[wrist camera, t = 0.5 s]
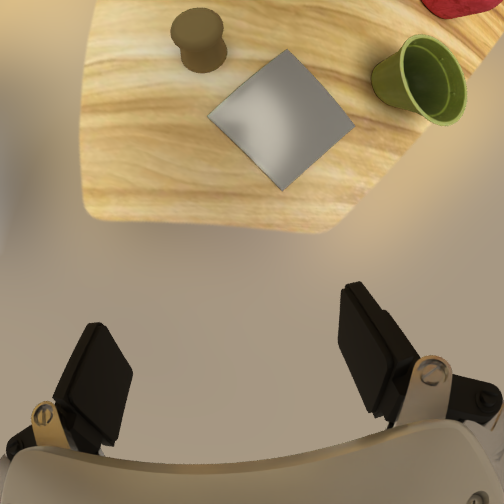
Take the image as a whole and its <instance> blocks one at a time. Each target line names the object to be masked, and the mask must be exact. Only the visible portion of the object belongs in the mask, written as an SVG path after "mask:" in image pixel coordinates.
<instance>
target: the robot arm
mask: <svg viewBox="0 0 504 504" xmlns="http://www.w3.org/2000/svg"><path fill="white" fill-rule="evenodd" d="M338 345H339V348H340V350H341V352H342V355H343V357H344V359H345V361H346V364H347V366H348V368H349V370H350V372H351V375H352V377H353V379H354V381H355V384H356V386H357V388H358V391H359V393H360V395H361V398H362V400H363V402H364V405H365V407H366V410H367V411H368V413H371V412H372V413H373V415H374V417H375V418H378V417H381V416H383V415H384V418H385V420H386V421H388V423H387V426H386V428H385V430H384V431H381V432H378V433H375V434H371V435H368V436H365V437H362V438H359V439H356V440H352V441H349V442H345V443H342V444H338V445H334V446H330V447H326V448H322V449H318V450H314V451H310V452H305V453H301V454H295V455H290V456H285V457H278V458H272V459H265V460H257V461H248V462H237V463H223V464H165V463H150V462H139V461H130V460H122V459H115V458H110V457H105V455H104V453H103V452H102V450H101V448H100V447H101V444H103V445H106V446H112V447H114V443H115V441H116V440H117V439H118V435H119V431H120V426H121V422H122V417H123V413H124V409H125V404H126V400H127V396H128V392H129V388H130V384H131V381H132V376H133V371H132V368H131V367H130V365H129V363H128V362H127V360H126V359H125V357H124V356H123V354H122V352H121V351H120V349H119V347H118V346H117V344H116V342H115V341H114V339H113V337H112V335H111V334H110V332H109V330H108V328H107V327H106V326H104V325H103V324H102V323H100V322H97V323H89V324H88V325H87V326H86V328H85V330H84V332H83V333H82V335H81V337H80V339H79V341H78V343H77V345H76V347H75V349H74V351H73V353H72V355H71V357H70V359H69V361H68V363H67V365H66V368H65V370H64V372H63V374H62V376H61V378H60V381H59V383H58V385H57V387H56V390H55V392H54V394H53V397H52V398H53V399H54V400H55V401H56V402H55V405H54V404H53V403H52V402H50V401H43V402H41V403H39V404H38V405H37V406H36V407H35V408H34V410H33V412H32V415H31V423H32V425H30V426H29V427H27V428H26V429H24V430H23V431H21V432H20V433H18V434H16V435H15V436H14V437H12V438H11V439H10V440H9V441H8V443H7V447H6V454H7V455H5V454H4V455H3V456H2V457H1V459H0V504H504V400H503V398H502V394H501V392H500V391H499V389H498V388H497V387H496V386H495V385H493V384H491V383H487V382H483V381H479V380H475V379H471V378H466V377H462V376H458V375H455V374H452V369H451V366H450V365H449V363H448V362H447V361H446V360H445V359H443V358H442V357H438V356H433V355H429V356H424V357H422V358H420V356H419V355H418V354H417V352H416V350H415V349H414V348H413V346H412V345H411V343H410V342H409V340H408V339H407V338H406V336H405V335H404V333H403V332H402V330H401V329H400V328H399V326H398V325H397V323H396V322H395V321H394V319H393V318H392V317H391V315H390V314H389V313H388V312H387V311H386V310H382V309H381V308H380V306H379V305H378V304H377V302H376V301H375V299H373V297H372V296H371V294H370V293H369V291H368V290H367V289H366V287H365V286H364V285H363V284H362V282H360V281H359V282H355V283H350V284H346V286H345V289H342V290H341V299H340V316H339V330H338Z"/></svg>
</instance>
